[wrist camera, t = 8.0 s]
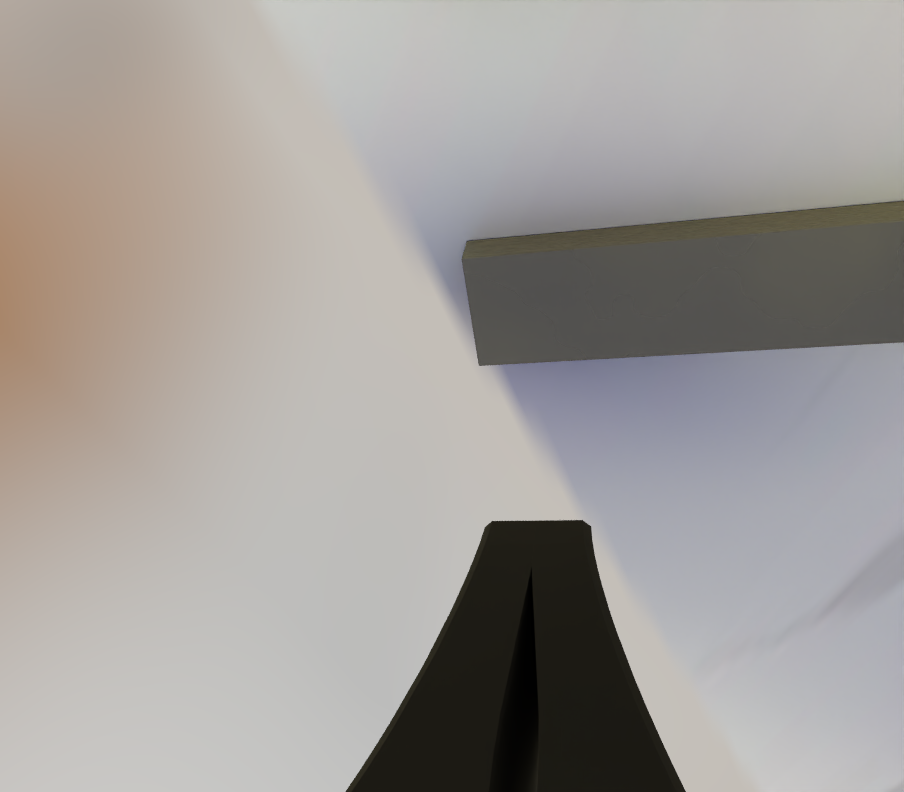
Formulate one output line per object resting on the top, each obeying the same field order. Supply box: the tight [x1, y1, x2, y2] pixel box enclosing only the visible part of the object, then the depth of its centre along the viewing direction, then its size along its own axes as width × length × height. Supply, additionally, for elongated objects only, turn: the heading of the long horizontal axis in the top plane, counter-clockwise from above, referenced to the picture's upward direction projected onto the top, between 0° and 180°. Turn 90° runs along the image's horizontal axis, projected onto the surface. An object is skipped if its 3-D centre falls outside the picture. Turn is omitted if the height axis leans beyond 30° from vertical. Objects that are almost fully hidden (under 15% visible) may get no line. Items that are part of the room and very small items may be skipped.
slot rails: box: [462, 201, 904, 366], centre depth 14 cm, size 12×13×1 cm
